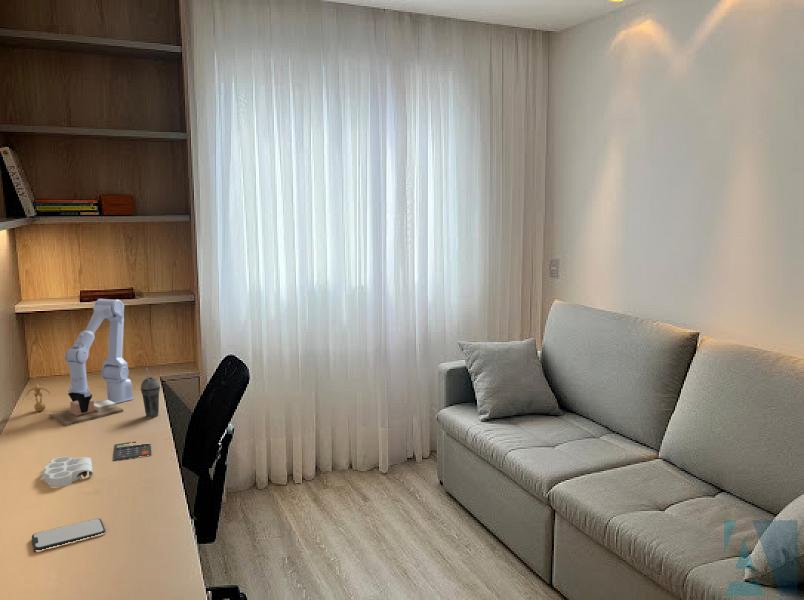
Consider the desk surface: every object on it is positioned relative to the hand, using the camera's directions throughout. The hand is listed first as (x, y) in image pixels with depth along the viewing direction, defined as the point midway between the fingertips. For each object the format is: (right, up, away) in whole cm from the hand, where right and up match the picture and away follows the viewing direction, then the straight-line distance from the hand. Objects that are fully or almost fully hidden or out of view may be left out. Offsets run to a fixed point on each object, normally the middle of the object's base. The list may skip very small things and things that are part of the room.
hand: (81, 410), depth 252 cm
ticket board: (+1, -2, +2) cm, 3 cm away
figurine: (-20, -2, +5) cm, 20 cm away
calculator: (+36, -8, -35) cm, 51 cm away
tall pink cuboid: (0, -1, +1) cm, 1 cm away
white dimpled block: (+23, -11, -55) cm, 60 cm away
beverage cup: (+28, -2, 0) cm, 29 cm away
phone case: (+43, -17, -91) cm, 102 cm away
